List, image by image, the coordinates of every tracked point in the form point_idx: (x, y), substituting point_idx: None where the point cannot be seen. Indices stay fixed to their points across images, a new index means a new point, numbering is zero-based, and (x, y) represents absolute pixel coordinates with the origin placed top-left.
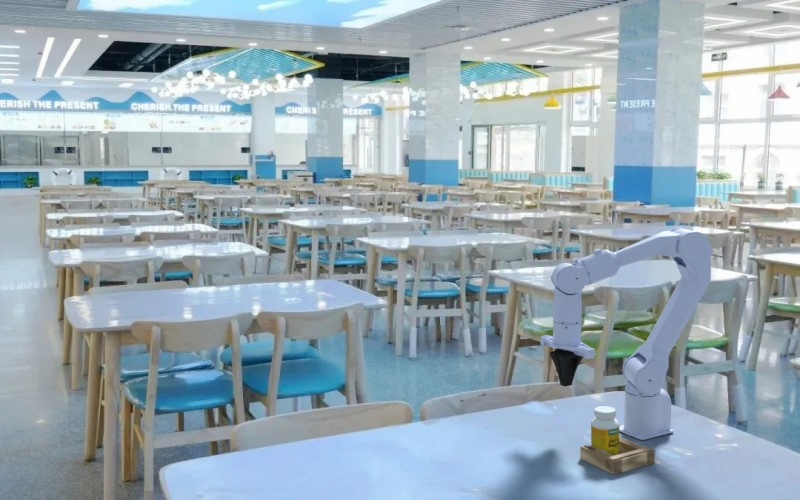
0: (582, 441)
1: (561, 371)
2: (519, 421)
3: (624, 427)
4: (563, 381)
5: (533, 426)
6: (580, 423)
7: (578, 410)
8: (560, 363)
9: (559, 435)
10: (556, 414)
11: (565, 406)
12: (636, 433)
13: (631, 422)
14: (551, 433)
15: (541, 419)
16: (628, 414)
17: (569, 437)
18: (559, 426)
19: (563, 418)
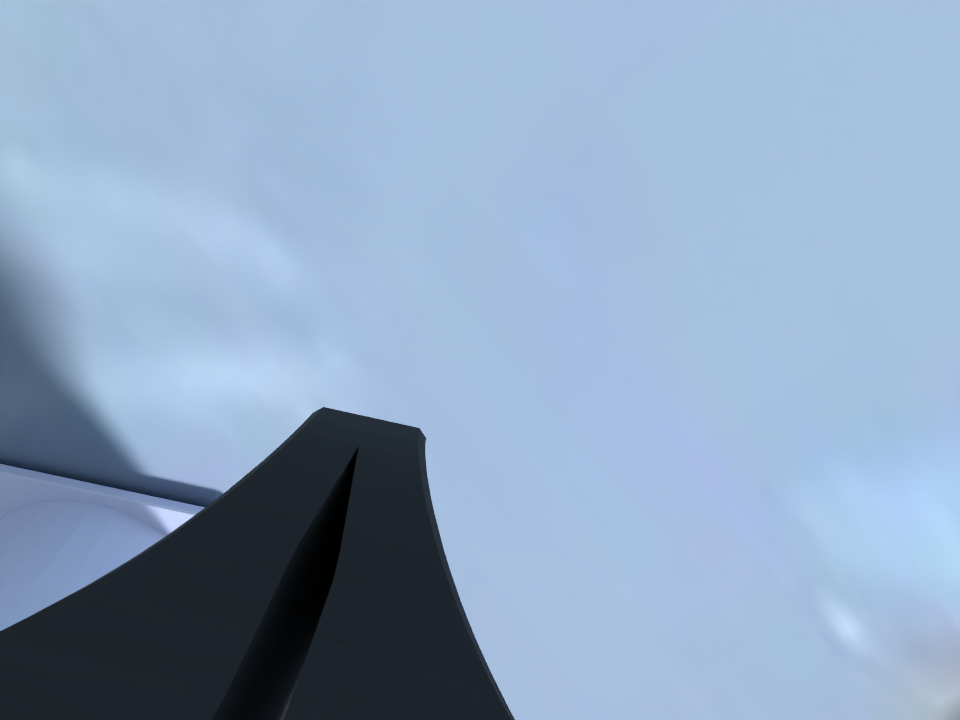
0: (211, 152)
1: (274, 553)
2: (950, 178)
3: (154, 541)
4: (300, 438)
5: (763, 159)
6: (496, 474)
7: (669, 664)
8: (172, 691)
9: (441, 132)
10: (756, 517)
11: (790, 675)
12: (35, 507)
13: (35, 556)
14: (525, 123)
15: (798, 355)
16: (36, 603)
17: (349, 154)
18: (578, 317)
19: (661, 481)
